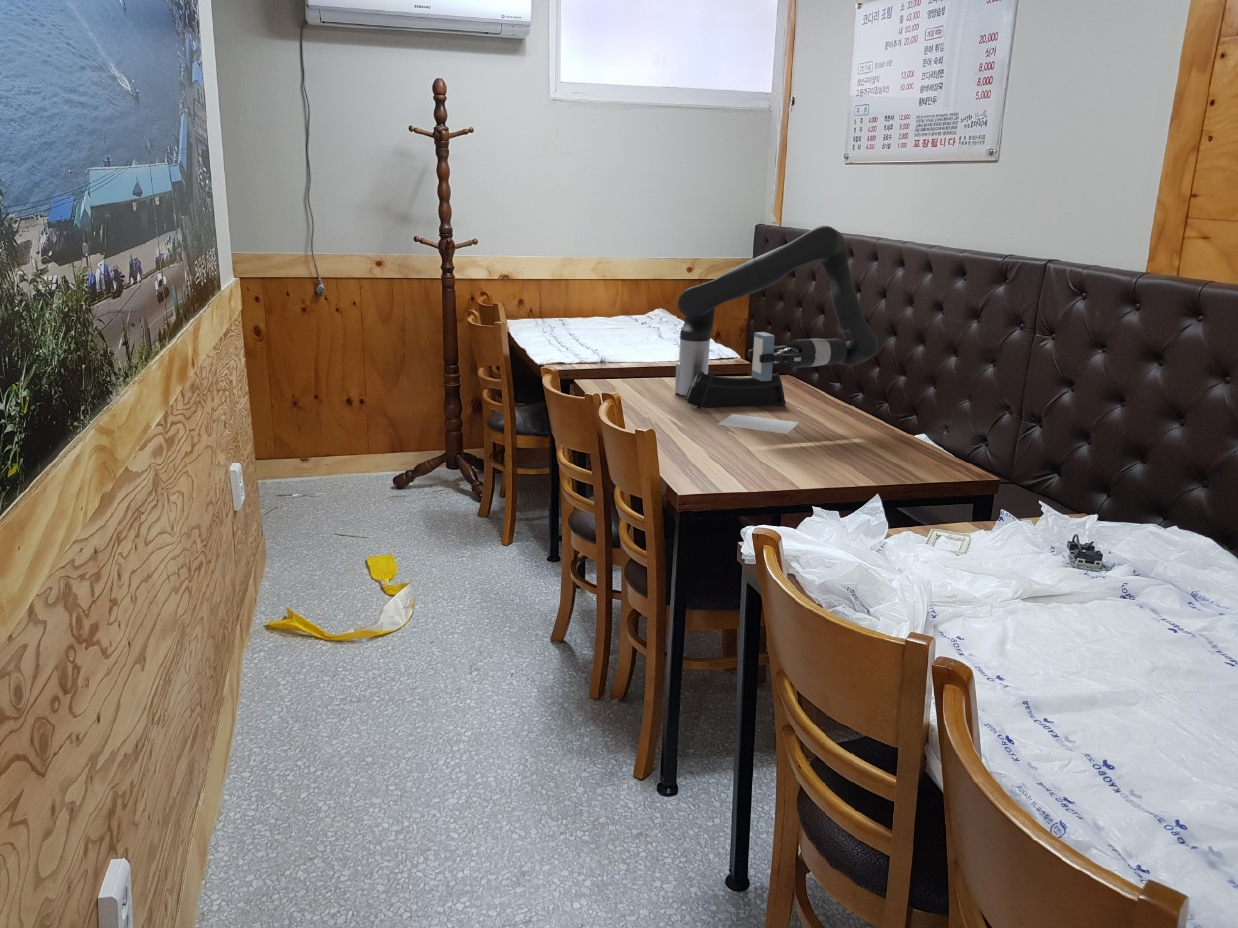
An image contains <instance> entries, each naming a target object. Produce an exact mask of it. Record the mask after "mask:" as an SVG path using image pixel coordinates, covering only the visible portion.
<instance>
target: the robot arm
mask: <svg viewBox="0 0 1238 928" xmlns="http://www.w3.org/2000/svg"><path fill="white" fill-rule="evenodd" d="M818 260H819V261H820V263H821V265H822V267H823V269H824V271H825V273H826V275H827V280H828V282H829V287H830V296H831V304H832V306H833V311H834V314H835V317H836V320H837V323H838V326H839V329H840V330H841V331H842V332H846V333H848V332H849V334H851V336H852V338H853V339H851V340H848V341H844V340H843V339H841V338H836V337H833V338H801V339H793V340H792V341H790V343H789V345H788V346H787V345H779V346H778V345H776V344H774V352H773V354H760V356H759V362H761V363H768V362H773V363H774V364H778V365H791V366H792V367H793V368H796V369H798V368H809V367H811V368H812V367H819V366H825V365H826V366H827V365H837V364H838V365H842V366H843V365H845V366H856V365H860V364H863V363H864V362H866V361H868V360H870V359H872V358H874V357H875V356H876V355H877V354H878V352H879V341H878V338H877V336H876V334H875V332H874V331H873V329H872V327H871V326H870V324H869V323H868V321H866V319H865V316H864V313H863V310H862V306H861V304H860V301H859V299H858V295H857V292H856V289H855V286H854V282H853V281H852V276H851V273H850V267H849V263H848V258H847V249H846V243H845V238H844V236H843V235H842V233H841V232H839V231H838V230H837V229H835V228H833V227H832V226H830V225H820V226H816V227H815V228H813V229H810V230H809V231H808V232H806V233H804V234H802V235H800V236H799V237H797V238H796V239H794V240H792V241H791V242H789V243H786V244H784V245H782V246H779V247H777V248H775V249H772V250H770V251H768V252H766V253H763V254H761V255H759V256H756V257H754V258H752V259H749V260H748V261H745V262H743V263H742V264H739V265H738V266H736V267H734V268H732V269H730V270H728V271H727V272H726V273H724V274H722V275H720V276H719V277H717V278H715V279H712V280H710V281H708V282H707V281H706V282H704V283H701V284H698V285H696V286H692V287H691V286H690V287H689V288H686V289H685V290H684V291H683V292H682V293H681V294H680V296H679V298H678V301H677V306H678V310H679V311H680V313H681V314H682V315H683V316H684V317H685V319H684V324H683V326H682V328H681V329H680V333H679V334H680V335H679V352H678V362H676V365H675V383H674V386H675V387H674V394H675V393H678V394H677V395H679V394H680V396H683V395H684V396H685V397H686V395H687V393H688V390H689V387H690V385H692V383H693V381H694V379H695V377H696V375H698V376H699V373H700V372H704V374H709V359H710V346H711V335H712V331H713V327H714V320H715V310H716V309H715V307H718V306H719V305H721V304H723V303H726V302H729V301H732V300H735V299H740V298H743V297H746V296H750V295H752V294H754V293H758V292H760V291H762V290H765V289H767V288H769V287H771V286H773V285H775V284H776V283H778V282H779V281H781V280H782V279H783V278H784V277H785V276H788V274H789V273H790V272H792V271H793V270H795V269H796V268H798V267H801V266H803V265H806V264H808V263H812V262H815V261H818ZM747 357H748V358H749V359H753V349H749V350H748V353H747ZM698 376H697V377H698ZM684 396H683V397H684Z"/></svg>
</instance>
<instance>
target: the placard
mask: <svg viewBox="0 0 1238 928" xmlns="http://www.w3.org/2000/svg"><path fill="white" fill-rule="evenodd" d="M774 345H775V334H772V333H768V332H766V331H759V332H758V331H757V332H755V331H754V333H753V347H752V350H753V358H752V362H751V363H752V364H751V365H752V366H751V377H753V378H756V379H758V380H760V381H770V380H772V374H773V362H768V363H761V362H759V356H760V354H773V352H774Z"/></svg>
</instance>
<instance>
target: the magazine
mask: <svg viewBox="0 0 1238 928" xmlns="http://www.w3.org/2000/svg"><path fill="white" fill-rule="evenodd" d="M697 376H698V375H696V377H695V379H694V381H693V383H692V385H690V387H689V390H688V393H687V395H686V396H685V400H686V401H687V404H689V405H692V406H695V407H697V408H696V409H697V410H699V409H701V408H703V409H704V408H705V409H714V408H715V409H716V408H717V409H718V408H736V407H737V408H739V407H742V408H743V407H745V408H746V407H774V406H780V405H786V403H787V402H786V398H785V393H784V387H783V383H782V379H781V377H780V376H781V375H780V373H779V372H774V373H772V380H770V381H760V380H758V379H756V378H753V377H752V376H751V377H729V376H728V377H725V376H720V375H713V374H709V373H708V374H704V372H700V373H699V376H698V377H697Z"/></svg>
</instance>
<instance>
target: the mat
mask: <svg viewBox="0 0 1238 928" xmlns="http://www.w3.org/2000/svg"><path fill="white" fill-rule="evenodd" d="M799 423H800V422H799V421H791V420H783V419H774V418H768V417H767V418H766V417H761V416H751V415H743V414H735V413H732V414H731V415H729V416H727V417H726V418H725V419H723V420H722V421H720V422H719V423H718V424H717V425H719V426H726V427H732V428H733V427H734V428H741V429H748V430H749V429H750V430H754V431H762V432H768V433H769V432H770V433H778V434H784V435H785V434H786V435H788V434H789V433H790V432H791V431H793V429H794V428H795V427H796V426H797V425H799Z"/></svg>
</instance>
